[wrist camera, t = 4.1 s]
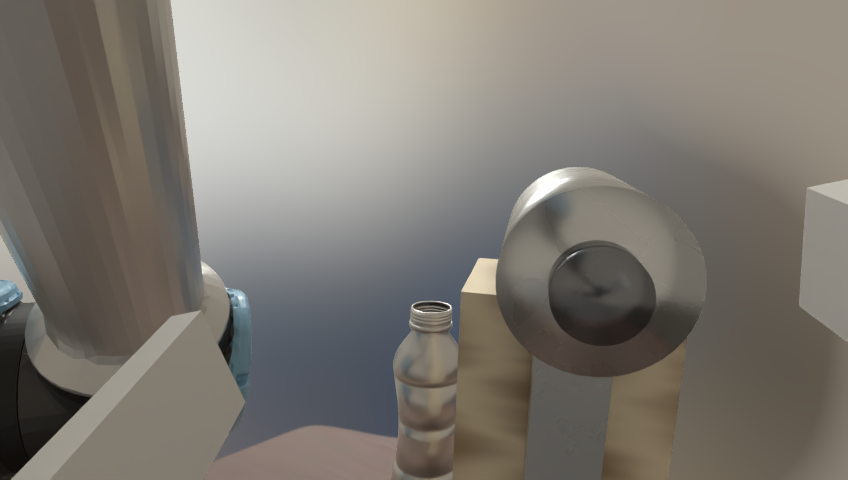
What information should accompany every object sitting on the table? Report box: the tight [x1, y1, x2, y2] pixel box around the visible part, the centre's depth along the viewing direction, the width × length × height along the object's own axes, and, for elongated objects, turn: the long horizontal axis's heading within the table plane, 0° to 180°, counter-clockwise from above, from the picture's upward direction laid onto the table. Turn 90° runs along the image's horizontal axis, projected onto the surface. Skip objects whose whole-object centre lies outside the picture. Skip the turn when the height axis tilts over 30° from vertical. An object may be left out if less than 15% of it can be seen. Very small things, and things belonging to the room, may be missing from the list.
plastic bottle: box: [391, 301, 459, 480], centre depth 44 cm, size 6×7×20 cm
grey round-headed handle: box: [496, 167, 707, 480], centre depth 19 cm, size 6×16×9 cm
